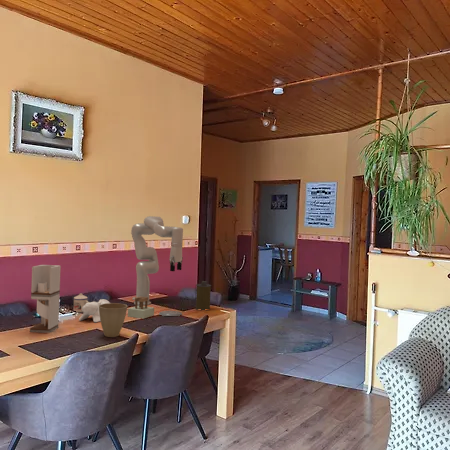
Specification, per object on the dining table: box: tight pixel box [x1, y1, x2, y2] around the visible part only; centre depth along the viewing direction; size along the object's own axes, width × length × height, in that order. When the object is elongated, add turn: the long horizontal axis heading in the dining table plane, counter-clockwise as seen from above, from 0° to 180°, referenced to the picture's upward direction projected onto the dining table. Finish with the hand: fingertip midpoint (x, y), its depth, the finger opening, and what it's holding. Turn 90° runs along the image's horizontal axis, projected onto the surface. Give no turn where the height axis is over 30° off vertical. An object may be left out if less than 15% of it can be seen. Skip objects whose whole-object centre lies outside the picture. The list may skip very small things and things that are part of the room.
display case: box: [29, 264, 62, 334], centre depth 234 cm, size 11×11×35 cm
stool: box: [134, 296, 148, 309], centre depth 277 cm, size 6×6×7 cm
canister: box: [195, 280, 212, 311], centre depth 306 cm, size 11×10×20 cm
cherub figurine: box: [78, 298, 111, 323], centre depth 263 cm, size 13×12×20 cm
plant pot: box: [99, 302, 128, 338], centre depth 228 cm, size 15×15×16 cm
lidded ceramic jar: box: [72, 293, 90, 313], centre depth 284 cm, size 12×9×12 cm
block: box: [127, 305, 155, 319], centre depth 277 cm, size 12×12×5 cm
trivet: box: [158, 310, 183, 317], centre depth 284 cm, size 15×15×1 cm
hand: (175, 270), depth 290 cm, fingers open, 9 cm apart
